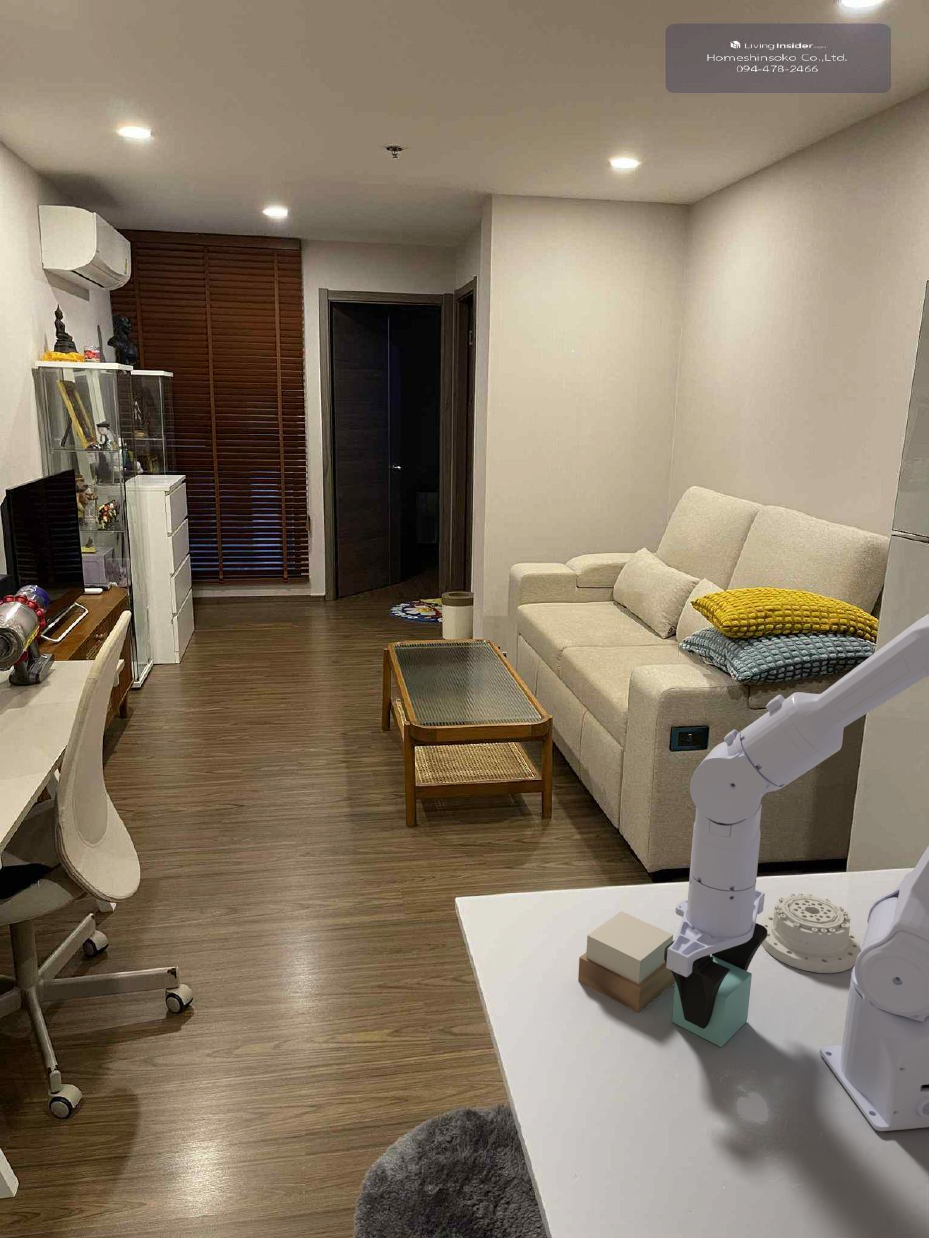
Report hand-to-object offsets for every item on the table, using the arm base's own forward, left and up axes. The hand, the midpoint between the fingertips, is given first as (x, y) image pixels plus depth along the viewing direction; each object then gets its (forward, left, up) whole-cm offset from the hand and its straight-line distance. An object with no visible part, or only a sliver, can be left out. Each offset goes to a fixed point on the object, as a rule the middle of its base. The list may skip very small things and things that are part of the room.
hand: (710, 1007), depth 86 cm
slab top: (+7, +6, +1) cm, 9 cm away
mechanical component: (+11, -15, -2) cm, 19 cm away
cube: (0, 0, -1) cm, 1 cm away
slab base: (+7, +6, -2) cm, 9 cm away
